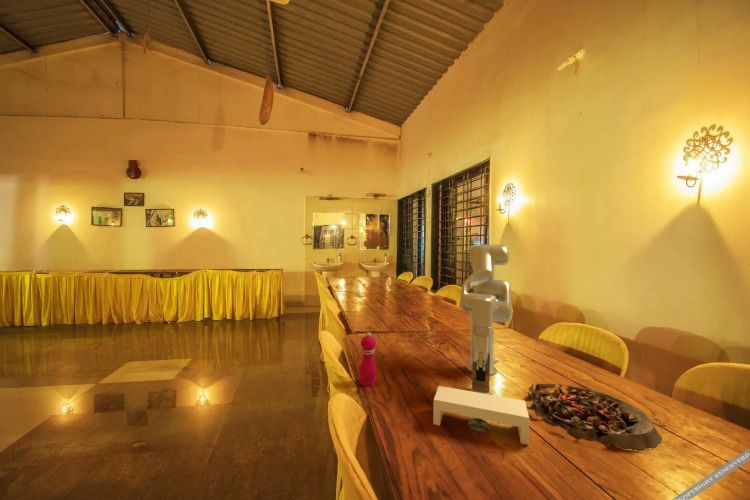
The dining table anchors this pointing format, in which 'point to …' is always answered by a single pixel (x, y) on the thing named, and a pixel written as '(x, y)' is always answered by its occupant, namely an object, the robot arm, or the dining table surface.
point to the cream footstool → (482, 408)
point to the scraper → (479, 385)
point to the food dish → (595, 416)
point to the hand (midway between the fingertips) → (480, 378)
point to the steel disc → (478, 425)
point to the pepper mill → (368, 361)
